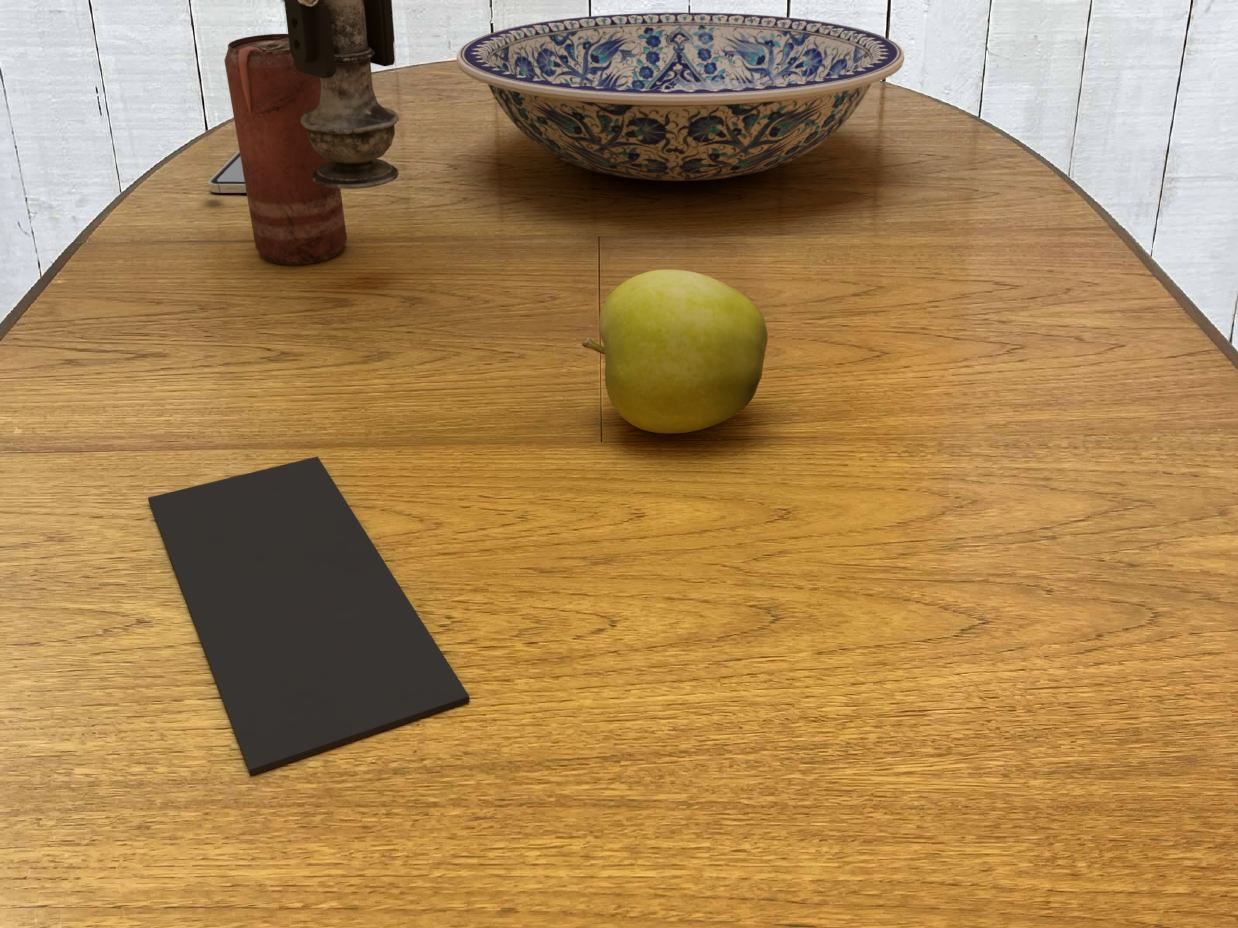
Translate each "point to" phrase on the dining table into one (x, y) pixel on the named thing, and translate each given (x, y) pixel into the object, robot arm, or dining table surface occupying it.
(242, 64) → the can
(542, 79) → the ceramic bowl
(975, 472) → the dining table surface
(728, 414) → the apple
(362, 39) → the salt shaker
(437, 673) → the black mat
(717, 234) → the dining table surface
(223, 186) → the smartphone
